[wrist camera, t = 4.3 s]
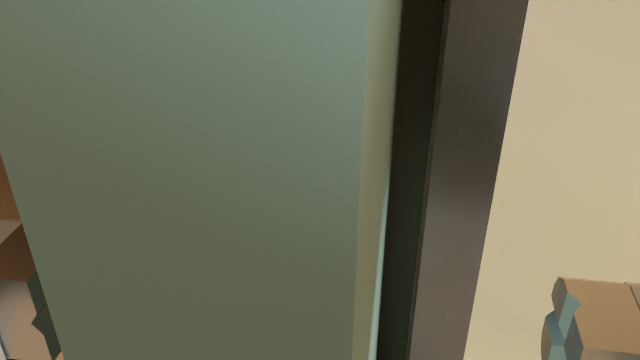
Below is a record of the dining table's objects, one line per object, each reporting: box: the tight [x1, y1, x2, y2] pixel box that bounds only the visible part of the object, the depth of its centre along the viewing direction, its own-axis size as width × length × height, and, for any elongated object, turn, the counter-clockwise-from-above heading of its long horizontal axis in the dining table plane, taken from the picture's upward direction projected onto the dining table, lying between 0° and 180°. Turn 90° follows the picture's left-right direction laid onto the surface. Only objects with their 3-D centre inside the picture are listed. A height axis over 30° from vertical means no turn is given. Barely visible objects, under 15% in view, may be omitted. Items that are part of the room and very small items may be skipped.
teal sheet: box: [0, 0, 404, 360], centre depth 10 cm, size 2×14×9 cm, turn 0°
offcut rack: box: [6, 0, 529, 360], centre depth 12 cm, size 15×20×7 cm
